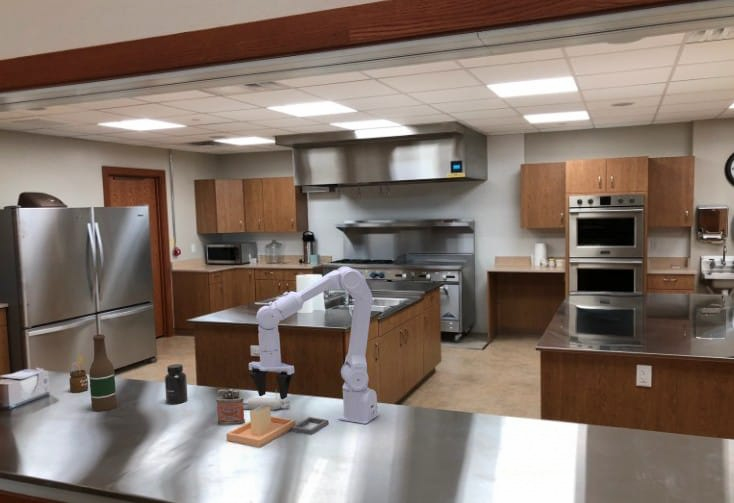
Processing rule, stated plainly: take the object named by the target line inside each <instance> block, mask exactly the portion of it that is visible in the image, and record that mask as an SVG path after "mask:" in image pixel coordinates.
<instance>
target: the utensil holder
mask: <svg viewBox="0 0 734 503" xmlns="http://www.w3.org/2000/svg"><path fill="white" fill-rule="evenodd" d="M75 364H76V365H77V366H75V367H76V370H75V367H74V365H75ZM82 365H83V355H78V356H77V361H76V362H75V361H74V362H72V364H71V365H70V366H71V368H72V369H71V372H69V377H70V378H69V380H68V381H69V390H70V392H71V393H73V394H77V393H83V392H86V391H88V390H89V378H88V376H87V371H86V370H85V369H81V366H82ZM77 367H78V369H77Z"/></svg>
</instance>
